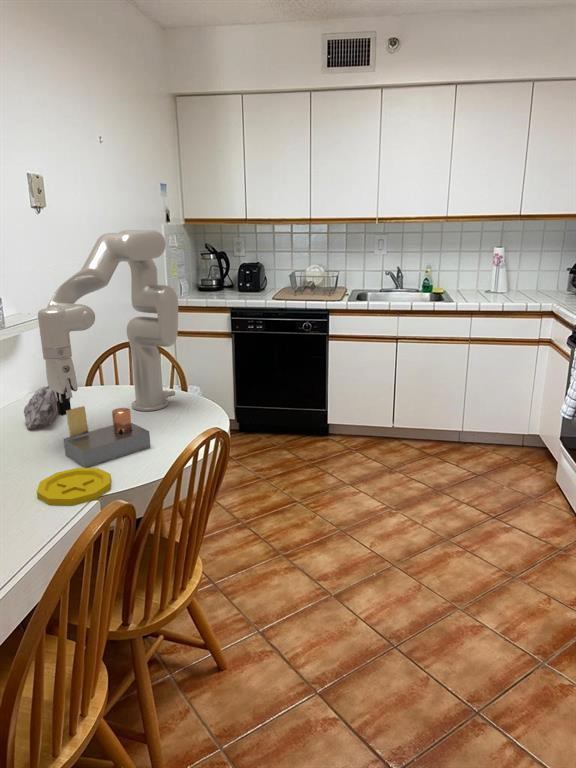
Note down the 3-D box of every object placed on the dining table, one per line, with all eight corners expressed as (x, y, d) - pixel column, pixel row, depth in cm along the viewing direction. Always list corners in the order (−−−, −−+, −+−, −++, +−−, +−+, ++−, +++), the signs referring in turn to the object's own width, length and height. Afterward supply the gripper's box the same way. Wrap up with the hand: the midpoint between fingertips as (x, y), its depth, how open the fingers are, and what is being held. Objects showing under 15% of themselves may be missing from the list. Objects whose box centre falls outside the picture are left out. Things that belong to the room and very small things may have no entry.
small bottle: (127, 440, 169) (124, 406, 166) (136, 444, 166) (133, 410, 163) (112, 444, 166) (108, 410, 163) (120, 449, 163) (117, 414, 160)
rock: (43, 439, 178) (58, 396, 175) (11, 428, 176) (25, 385, 173) (61, 416, 199) (75, 378, 197) (32, 407, 197) (46, 368, 194)
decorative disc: (85, 468, 152) (85, 462, 152) (125, 487, 142) (124, 480, 141) (25, 491, 140) (24, 484, 139) (63, 514, 129) (62, 506, 129)
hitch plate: (129, 436, 174) (128, 421, 172) (150, 447, 165) (149, 431, 164) (65, 455, 160) (63, 438, 159) (84, 468, 152) (82, 450, 151)
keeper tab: (71, 437, 158) (70, 437, 159) (88, 433, 162) (87, 432, 162) (67, 410, 156) (65, 410, 157) (84, 406, 160) (83, 406, 161)
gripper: (82, 354, 157) (89, 417, 162) (59, 346, 167) (66, 405, 172) (55, 359, 152) (63, 423, 157) (33, 350, 162) (41, 411, 167)
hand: (64, 413), depth 165 cm, fingers closed
